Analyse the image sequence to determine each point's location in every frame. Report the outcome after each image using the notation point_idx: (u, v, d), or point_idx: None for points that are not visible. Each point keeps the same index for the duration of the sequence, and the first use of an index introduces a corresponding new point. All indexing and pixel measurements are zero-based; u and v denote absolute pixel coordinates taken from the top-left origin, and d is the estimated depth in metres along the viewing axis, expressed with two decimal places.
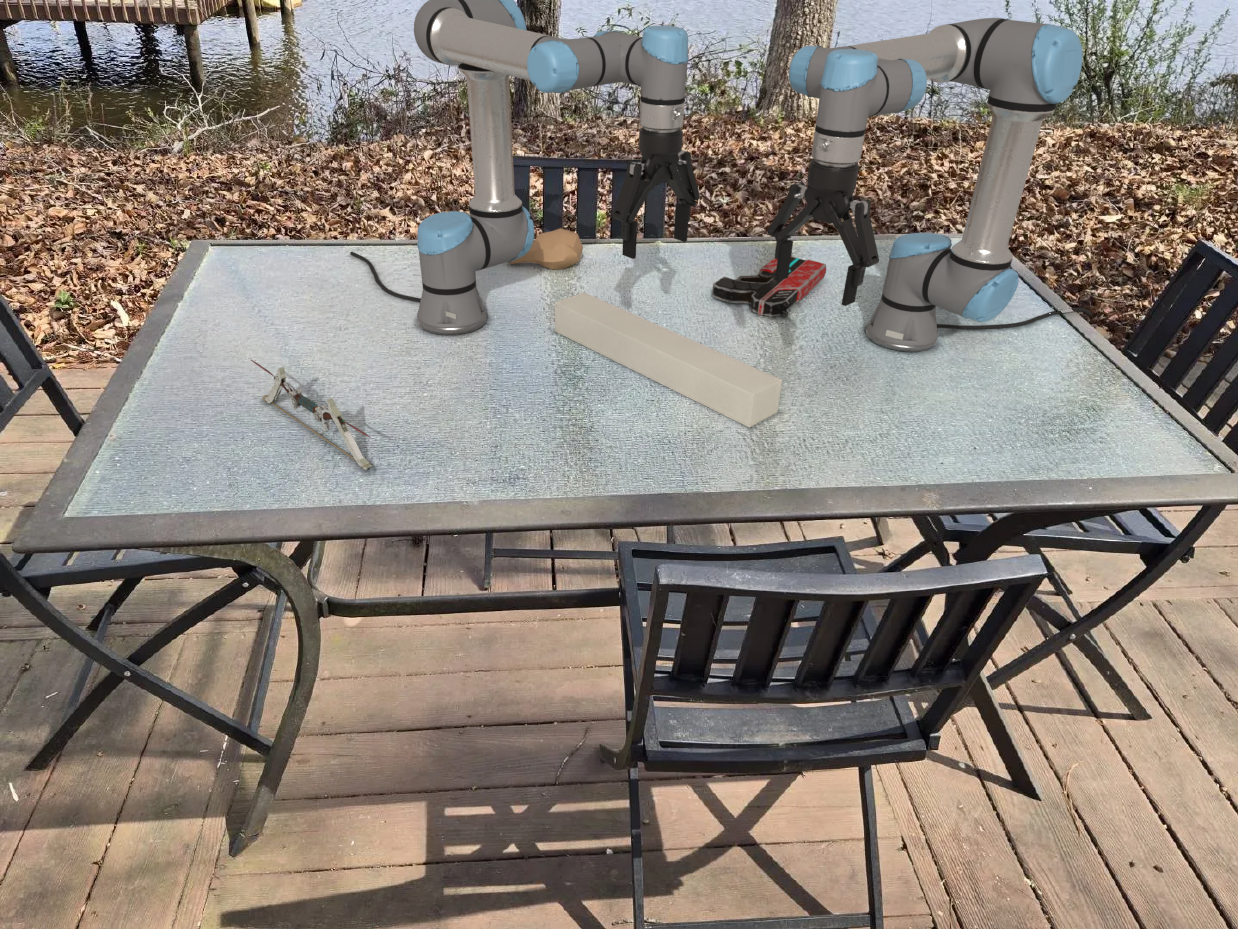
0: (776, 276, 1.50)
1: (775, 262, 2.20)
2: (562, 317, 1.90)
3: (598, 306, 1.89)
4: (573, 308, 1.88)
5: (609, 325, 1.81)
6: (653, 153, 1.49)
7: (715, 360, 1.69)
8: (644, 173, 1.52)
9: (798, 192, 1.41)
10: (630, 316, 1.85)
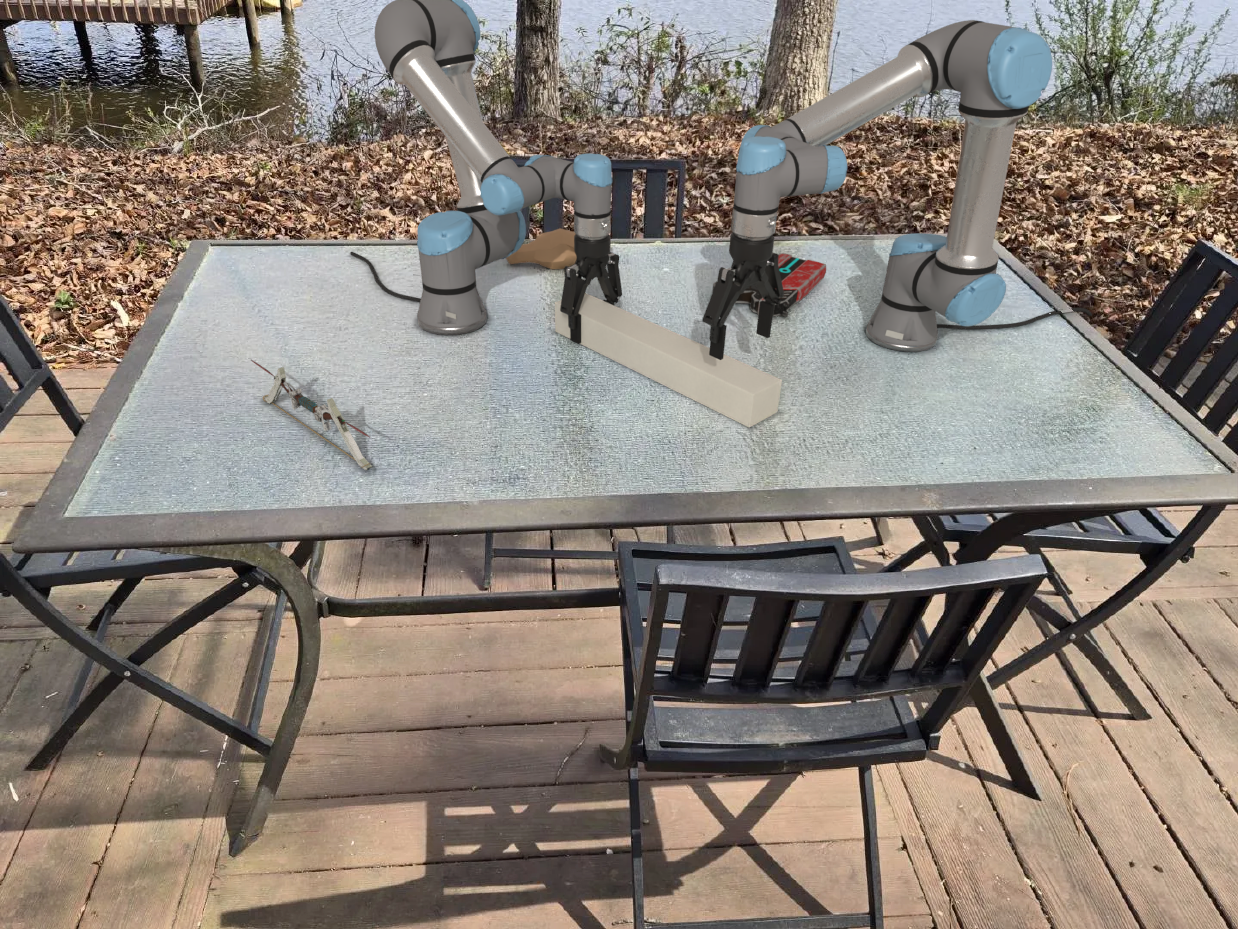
0: (721, 356, 1.56)
1: None
2: (562, 317, 1.90)
3: (598, 306, 1.89)
4: (573, 308, 1.88)
5: (609, 325, 1.81)
6: (585, 256, 1.79)
7: (715, 360, 1.69)
8: (579, 271, 1.82)
9: None
10: (630, 316, 1.85)
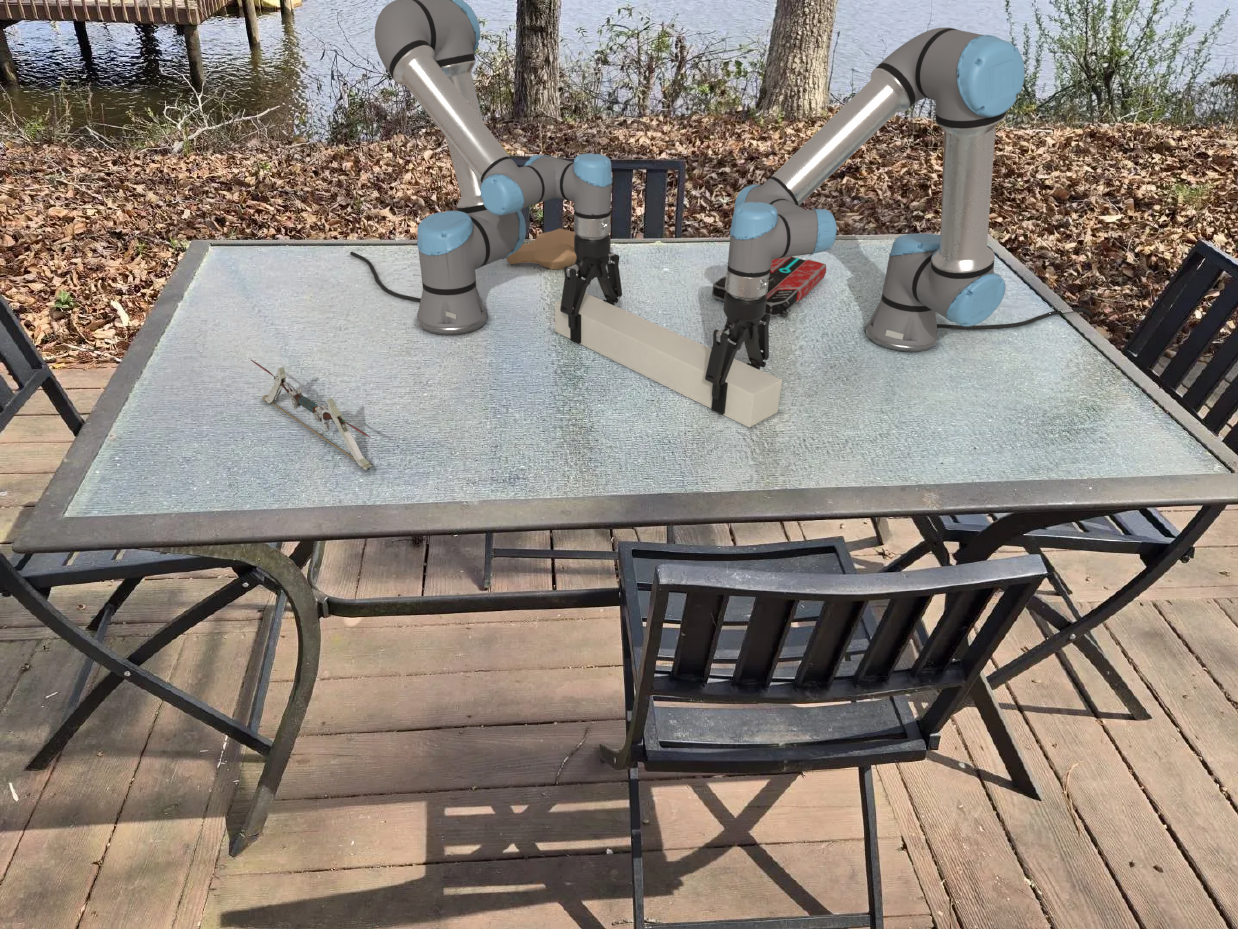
0: (723, 411, 1.64)
1: (775, 262, 2.20)
2: (562, 317, 1.90)
3: (598, 306, 1.89)
4: (573, 308, 1.88)
5: (609, 325, 1.81)
6: (585, 256, 1.79)
7: None
8: (579, 271, 1.82)
9: None
10: (630, 316, 1.85)
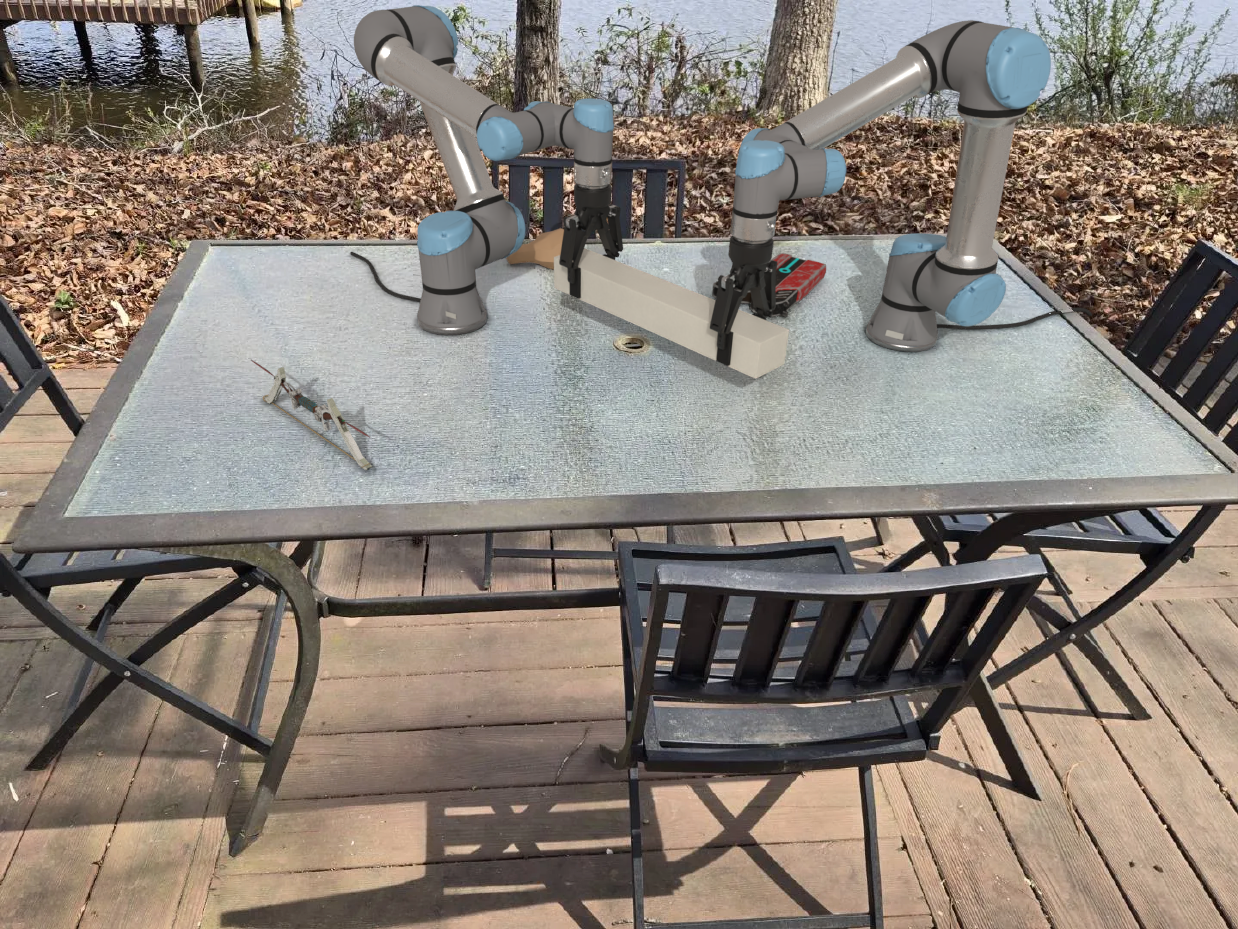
0: (728, 362, 1.59)
1: None
2: (561, 272, 1.85)
3: (598, 260, 1.83)
4: None
5: (610, 278, 1.75)
6: (585, 206, 1.73)
7: None
8: (579, 222, 1.76)
9: None
10: (631, 270, 1.79)
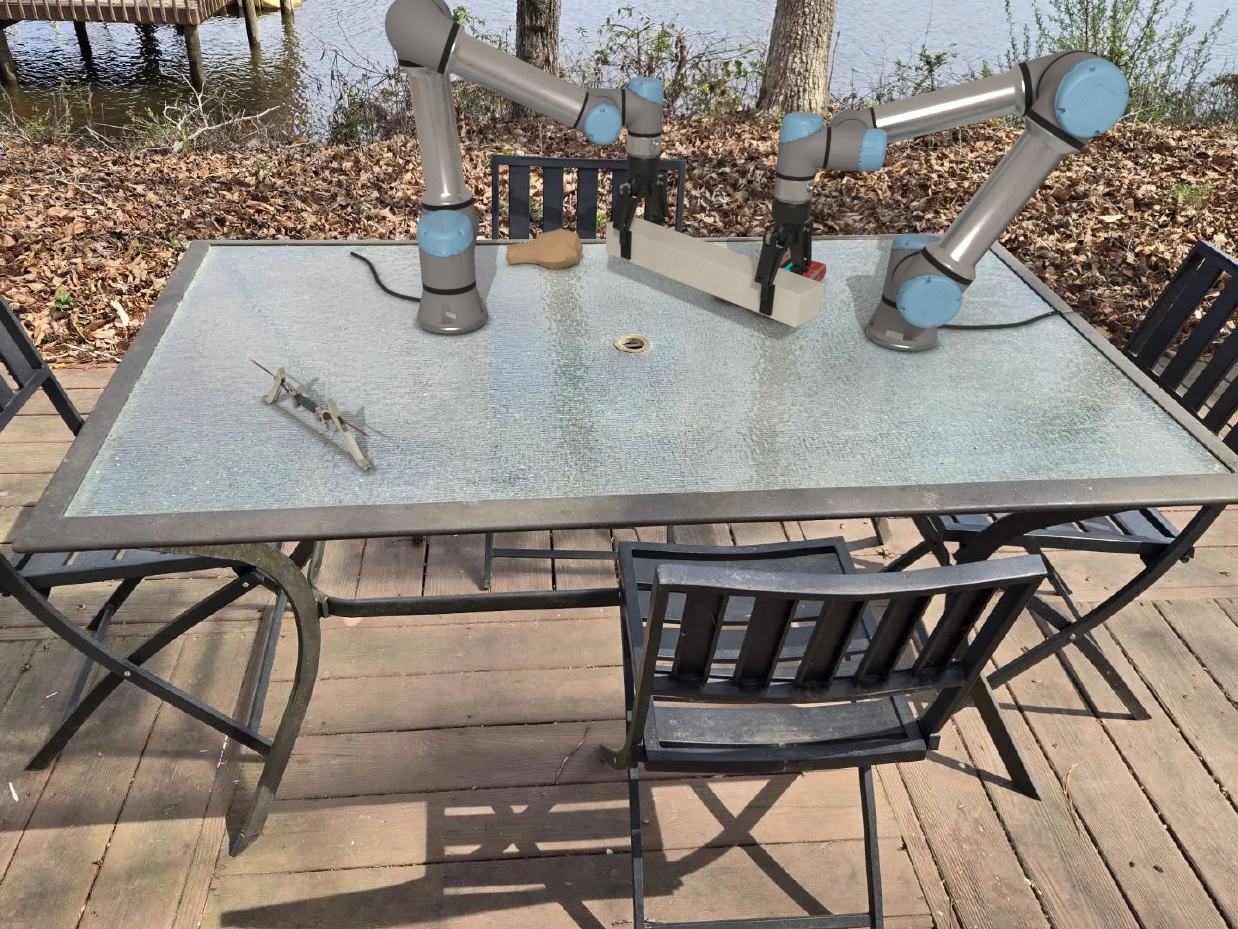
0: (770, 312, 1.78)
1: None
2: (613, 237, 2.04)
3: (647, 226, 2.02)
4: None
5: (660, 241, 1.94)
6: (637, 174, 1.92)
7: None
8: (630, 189, 1.95)
9: None
10: (678, 234, 1.98)
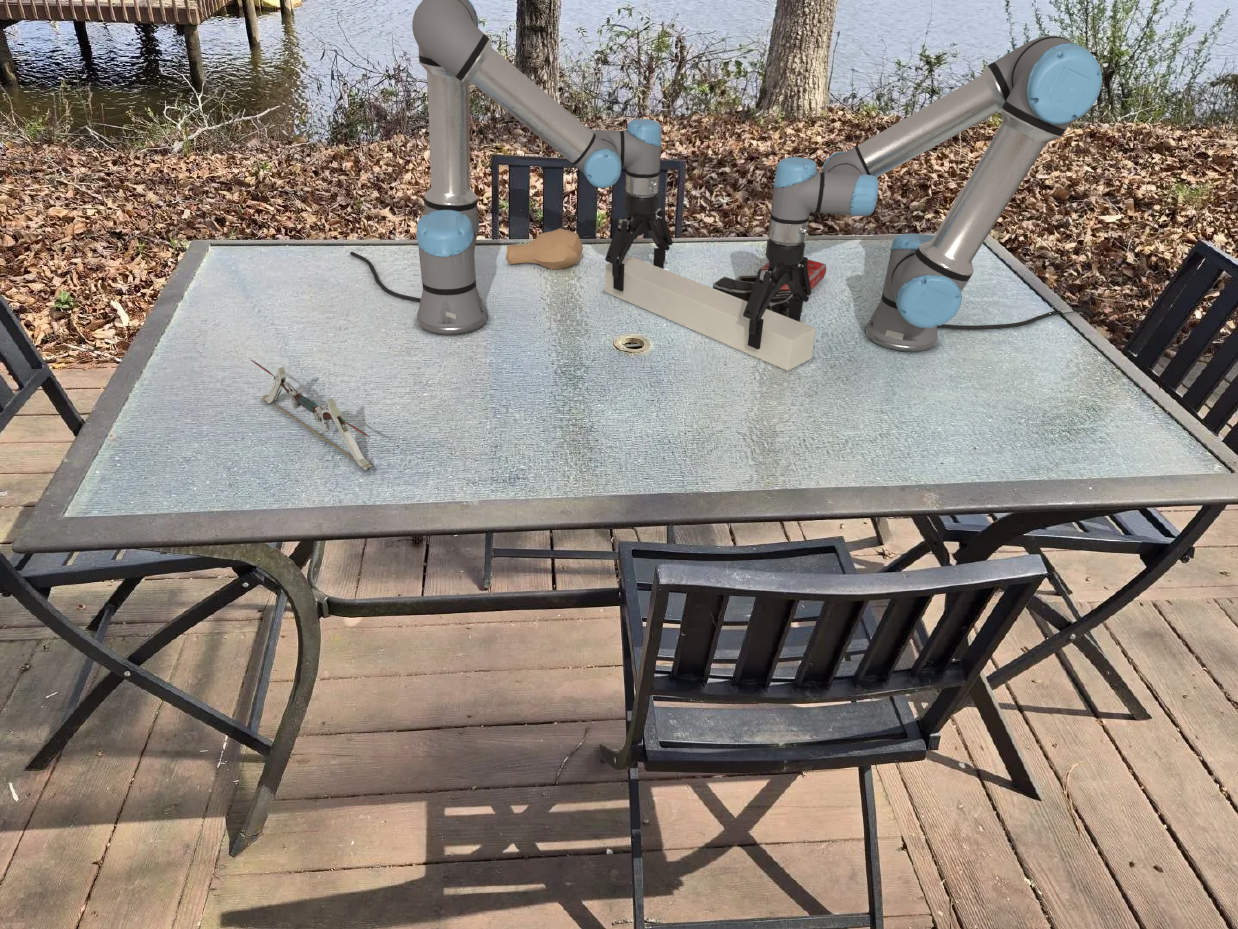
0: (758, 346, 1.81)
1: None
2: (612, 278, 2.09)
3: (644, 268, 2.08)
4: None
5: (657, 283, 2.00)
6: (636, 212, 1.97)
7: None
8: (629, 227, 2.00)
9: None
10: (675, 276, 2.04)
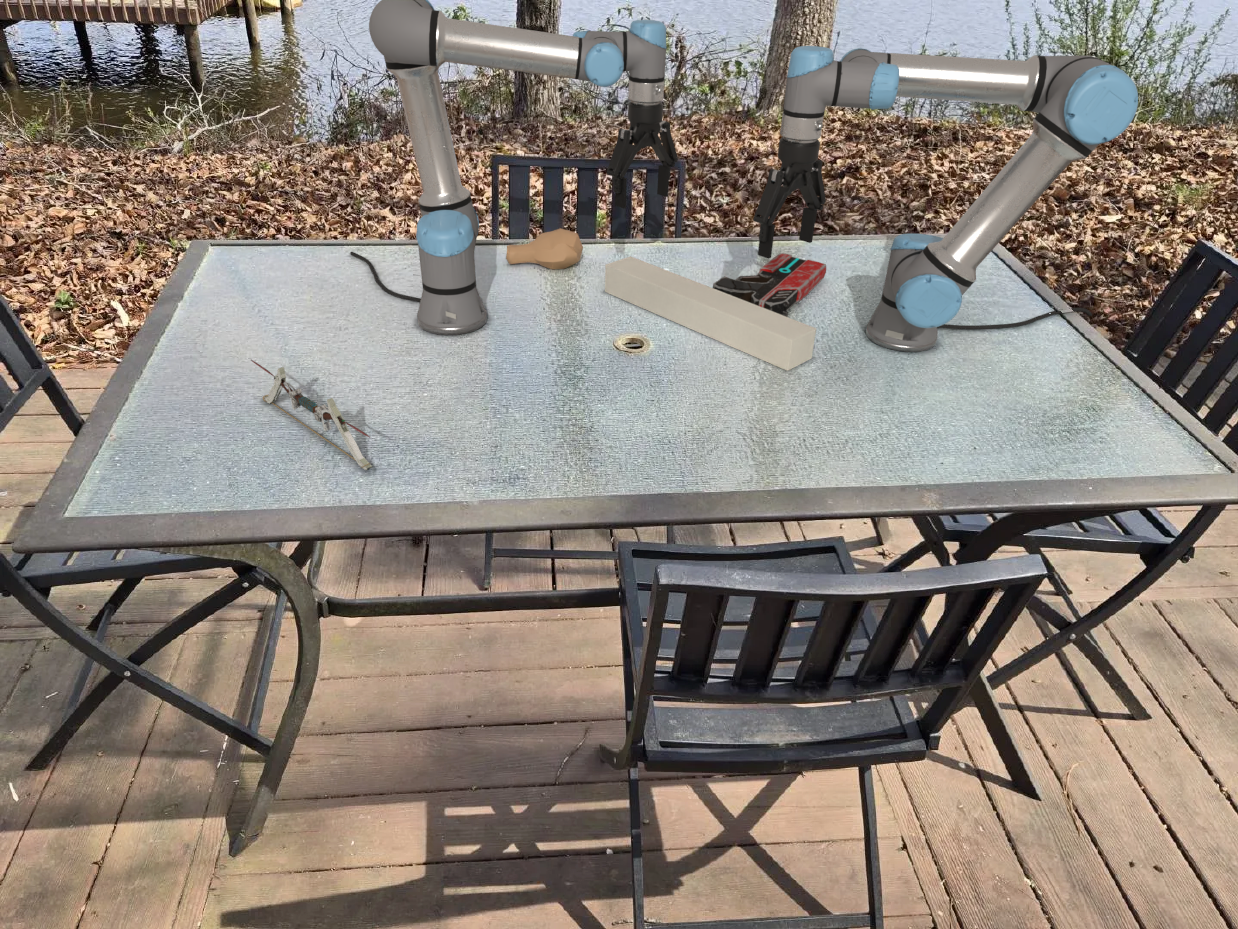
0: (769, 254, 1.70)
1: (775, 262, 2.20)
2: (612, 278, 2.09)
3: (644, 268, 2.08)
4: (622, 269, 2.07)
5: (657, 283, 2.00)
6: (639, 122, 1.86)
7: (755, 312, 1.88)
8: (632, 138, 1.89)
9: None
10: (675, 276, 2.04)
